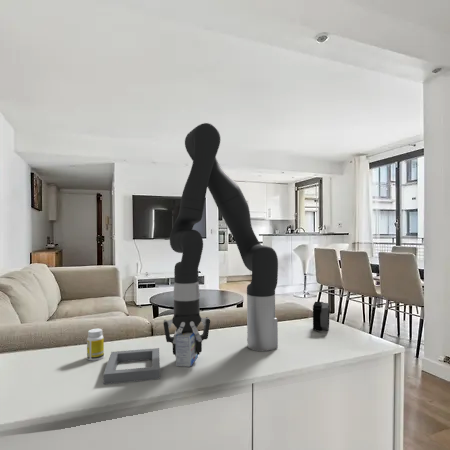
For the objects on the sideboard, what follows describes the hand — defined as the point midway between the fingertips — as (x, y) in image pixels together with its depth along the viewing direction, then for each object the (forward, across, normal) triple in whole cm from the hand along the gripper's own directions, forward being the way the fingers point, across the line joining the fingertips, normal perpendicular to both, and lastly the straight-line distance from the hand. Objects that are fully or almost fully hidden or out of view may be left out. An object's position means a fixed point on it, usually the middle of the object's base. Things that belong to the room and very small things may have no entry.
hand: (187, 354), depth 101 cm
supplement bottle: (+2, +27, -9) cm, 29 cm away
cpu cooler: (+2, -53, -20) cm, 57 cm away
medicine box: (+2, 0, 0) cm, 2 cm away
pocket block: (+2, +15, +2) cm, 15 cm away
